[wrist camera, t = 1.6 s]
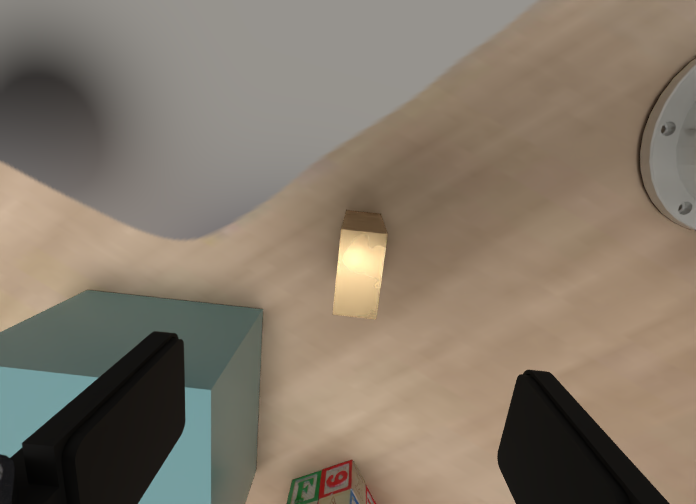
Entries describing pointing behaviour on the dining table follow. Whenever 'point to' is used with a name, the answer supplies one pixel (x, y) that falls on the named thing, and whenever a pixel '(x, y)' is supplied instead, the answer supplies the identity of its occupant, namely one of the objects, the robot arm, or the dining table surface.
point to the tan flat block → (360, 265)
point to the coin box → (114, 343)
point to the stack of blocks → (331, 487)
